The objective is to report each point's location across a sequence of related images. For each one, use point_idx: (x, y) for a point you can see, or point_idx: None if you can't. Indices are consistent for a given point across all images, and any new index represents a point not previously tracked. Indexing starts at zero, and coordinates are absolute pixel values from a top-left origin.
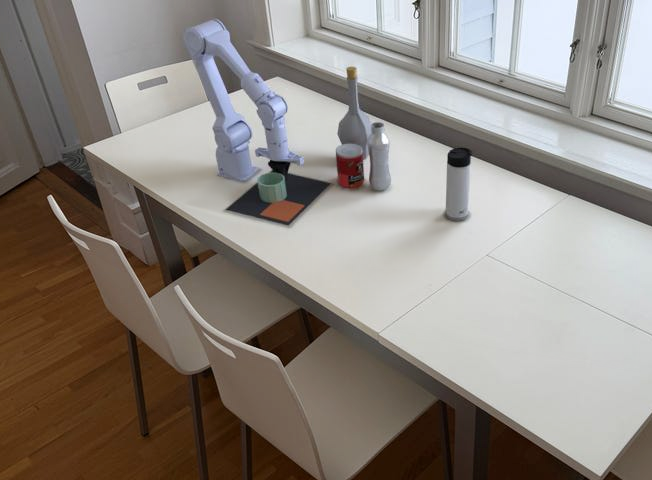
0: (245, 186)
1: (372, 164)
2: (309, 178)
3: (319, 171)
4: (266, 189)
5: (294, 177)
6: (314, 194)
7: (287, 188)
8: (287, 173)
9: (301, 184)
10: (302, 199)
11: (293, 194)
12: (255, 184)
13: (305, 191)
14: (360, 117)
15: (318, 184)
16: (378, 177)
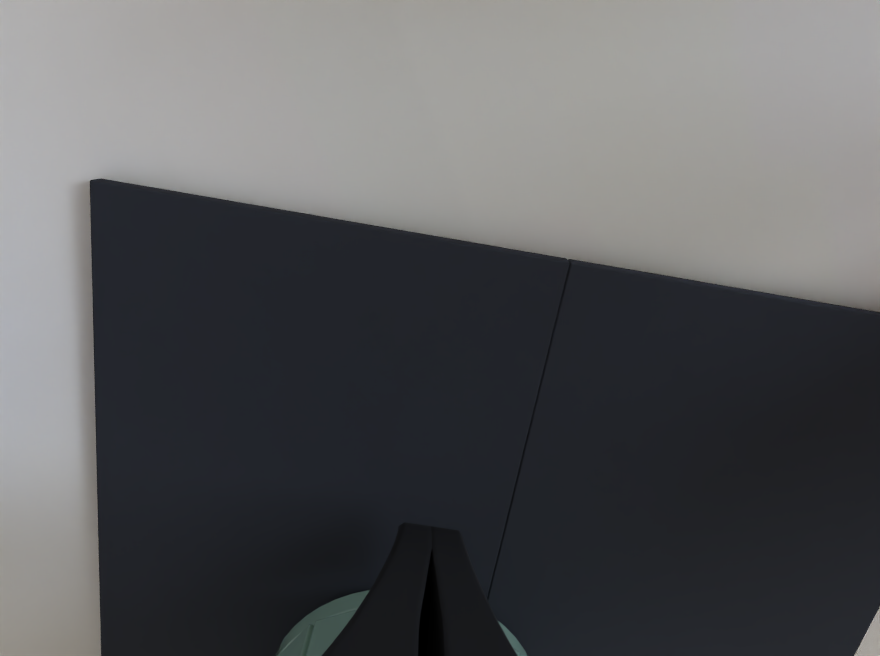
0: (16, 572)
1: None
2: (694, 289)
3: (787, 12)
4: None
5: (481, 311)
6: (827, 600)
7: (488, 554)
8: (487, 605)
9: (627, 450)
10: None
11: (595, 639)
12: (100, 554)
13: (711, 567)
14: None
15: (845, 405)
16: None
